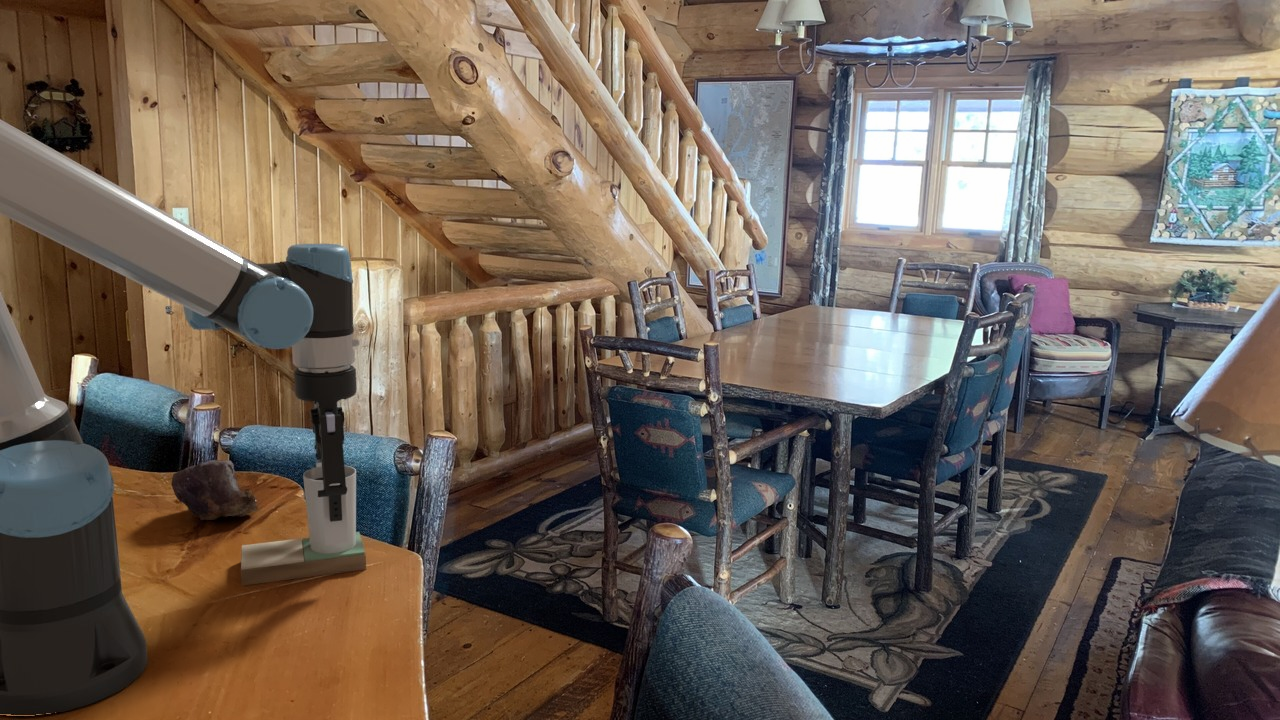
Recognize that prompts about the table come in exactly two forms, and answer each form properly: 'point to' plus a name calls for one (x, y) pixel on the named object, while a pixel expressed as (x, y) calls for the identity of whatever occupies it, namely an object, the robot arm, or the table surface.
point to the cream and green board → (296, 561)
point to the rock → (212, 491)
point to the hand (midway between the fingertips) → (332, 524)
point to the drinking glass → (315, 510)
